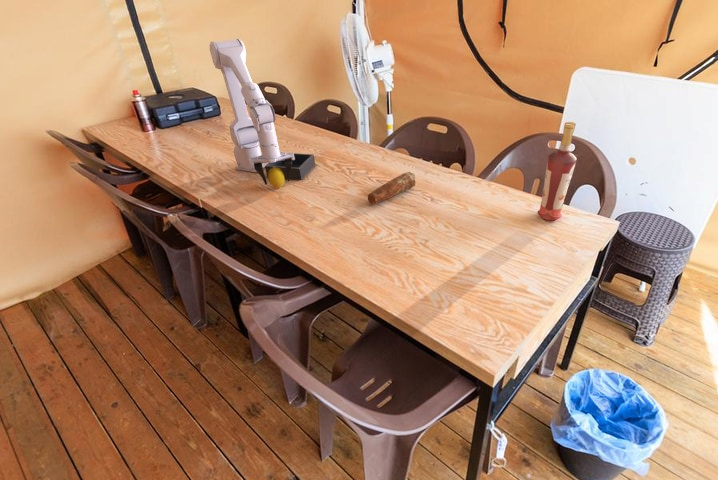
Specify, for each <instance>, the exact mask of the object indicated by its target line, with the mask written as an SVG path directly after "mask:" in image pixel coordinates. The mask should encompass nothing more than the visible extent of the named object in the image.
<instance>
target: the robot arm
mask: <svg viewBox="0 0 718 480" xmlns="http://www.w3.org/2000/svg"><path fill="white" fill-rule="evenodd" d="M209 52H210V56H211V60H212V63H213V66H214V68H215V69H217V70H220V71H221V72H220V73H221V74H222V77H223V80H224V83H225V88H226V91H227V94H228V98H229V102H230V105H231V108H232V112H233V115H234V119H233V120H232V122H231V123H230V124H229V131H230V137H231V141H232V143H233V144H234V147H233V155H234V157H235V158H234V159H235V163H236V165H237V167H236V170H237V171H238V170H239V171H244V172H251V173H258V174H259V176H260V177H261V179H262V181H263V184H264V185H268V181H267V176H266V175H265V171H264V169H265V166H266V165H267V164H268V163H269V162H270V163H272V162H276V161H284V163H285V168H286V175H287V179H286V181H287V182H290V181H291V179H290V170H291V166H292V160H295V157H294V153H295V152H293V151H292V152H282V153H281V152H280V151H281V150H280V146H279V143H278V137H277V133H276V128H275V127H276V126H275V123H276V114H275V109H274V108H273V105H272V103H270V102H269V101H268V100H267V99H266V98H265V96H264V95H263V93H262V90H261V89H260V87H259V84H258V83H255V82H253V79H252V77H251V74H250V73H249V70H248V67H247V64H246V63H247V50H246V47H245V43H244V42H243V41H242V39H240V38H235V39H227V40H217V41H210V42H209ZM247 107H248V108H247ZM248 109H249V112H248Z"/></svg>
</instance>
